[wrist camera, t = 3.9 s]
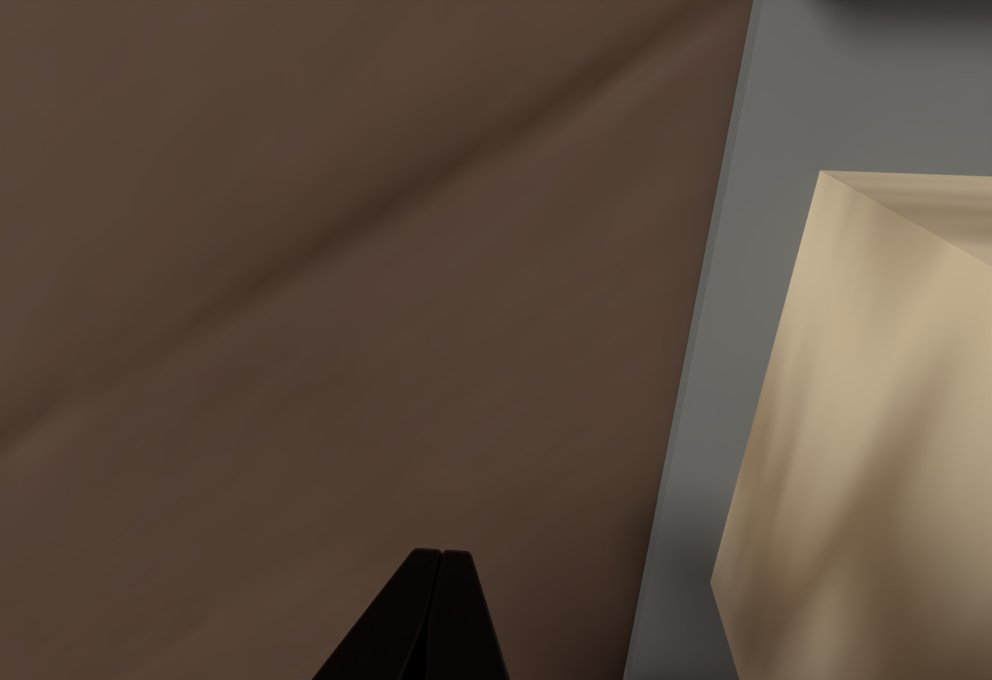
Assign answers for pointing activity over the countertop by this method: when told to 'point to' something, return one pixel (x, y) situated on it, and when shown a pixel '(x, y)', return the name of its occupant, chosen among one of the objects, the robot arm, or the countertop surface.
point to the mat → (790, 253)
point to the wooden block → (872, 445)
